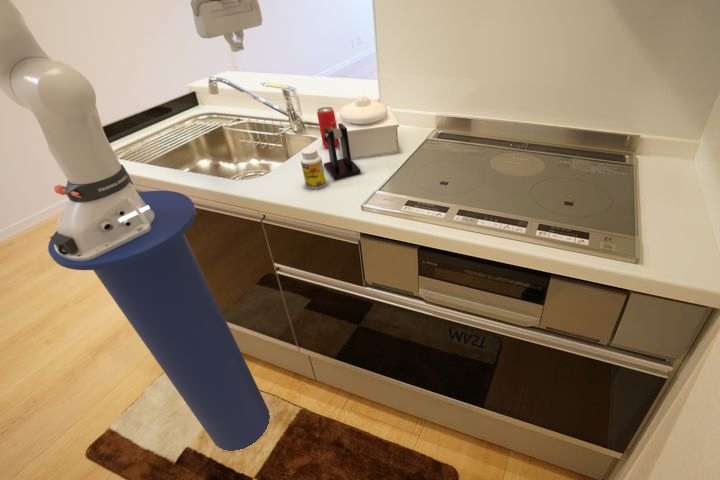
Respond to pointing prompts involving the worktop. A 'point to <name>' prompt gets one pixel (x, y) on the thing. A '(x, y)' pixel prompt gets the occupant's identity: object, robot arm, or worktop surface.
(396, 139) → the white box with dome
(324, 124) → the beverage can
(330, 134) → the bracket
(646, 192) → the worktop surface
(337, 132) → the tap lever
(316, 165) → the supplement bottle
